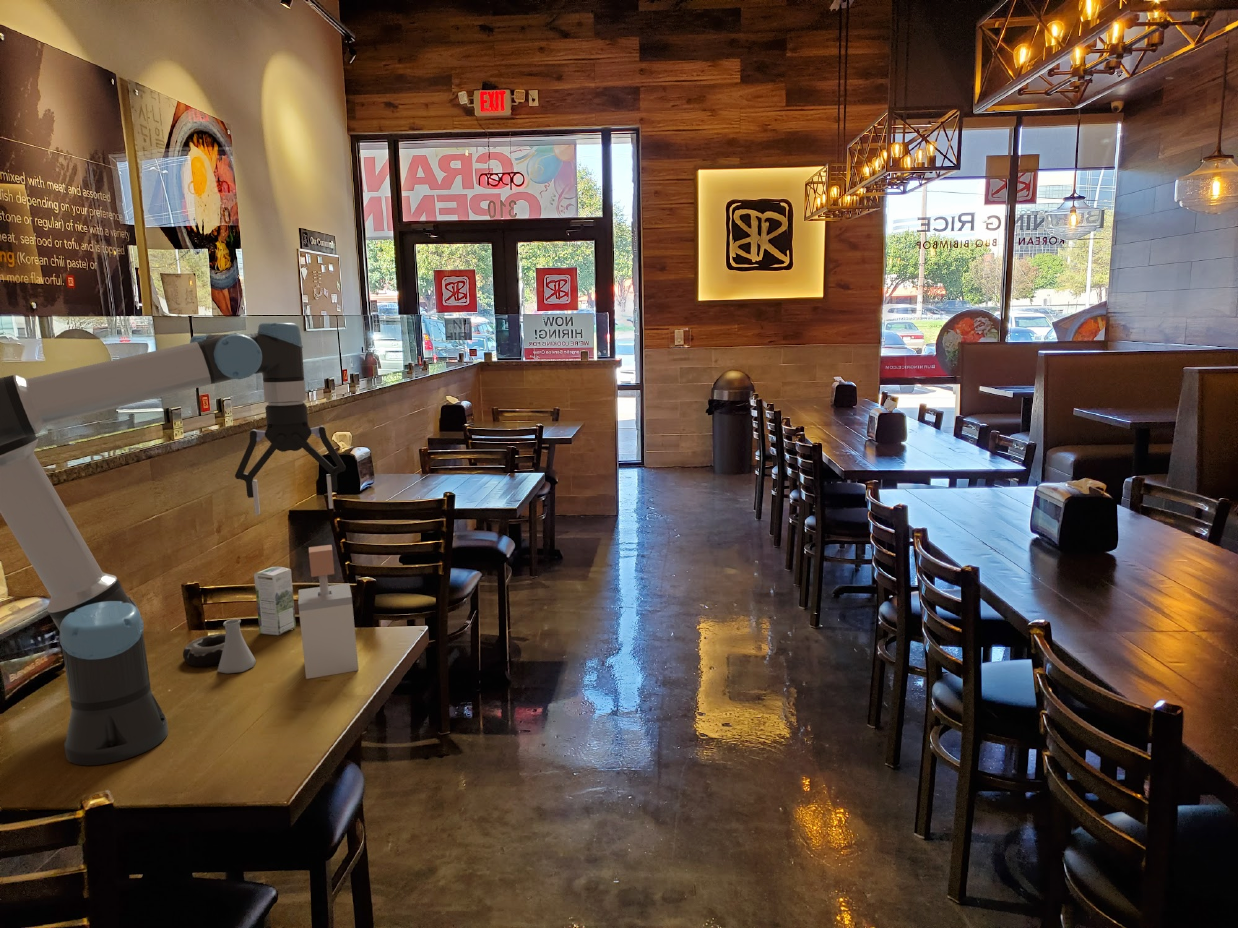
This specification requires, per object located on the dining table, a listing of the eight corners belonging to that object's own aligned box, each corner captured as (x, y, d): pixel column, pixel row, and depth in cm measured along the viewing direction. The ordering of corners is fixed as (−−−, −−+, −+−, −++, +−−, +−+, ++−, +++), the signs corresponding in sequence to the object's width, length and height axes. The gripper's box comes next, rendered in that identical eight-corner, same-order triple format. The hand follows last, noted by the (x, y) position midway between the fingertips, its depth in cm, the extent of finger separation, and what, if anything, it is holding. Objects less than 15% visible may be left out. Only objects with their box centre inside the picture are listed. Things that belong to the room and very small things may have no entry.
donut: (214, 645, 190) (212, 628, 189) (256, 651, 186) (254, 633, 185) (171, 666, 179) (168, 648, 178) (215, 672, 175) (212, 653, 174)
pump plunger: (341, 644, 173) (332, 549, 170) (318, 648, 172) (308, 552, 169) (340, 637, 177) (331, 544, 174) (318, 641, 176) (308, 547, 173)
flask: (262, 660, 180) (257, 615, 178) (244, 674, 172) (239, 627, 171) (229, 660, 180) (224, 615, 179) (210, 674, 173) (205, 627, 172)
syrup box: (277, 625, 201) (271, 565, 199) (297, 627, 199) (291, 567, 196) (259, 633, 196) (252, 572, 193) (279, 636, 194) (272, 574, 191)
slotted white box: (358, 670, 173) (351, 596, 170) (306, 678, 169) (298, 604, 167) (355, 652, 182) (349, 583, 179) (305, 660, 178) (298, 589, 176)
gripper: (352, 398, 173) (359, 501, 176) (217, 405, 165) (227, 512, 168) (353, 401, 166) (361, 508, 169) (213, 408, 158) (224, 520, 161)
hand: (294, 510), depth 169 cm, fingers open, 13 cm apart
